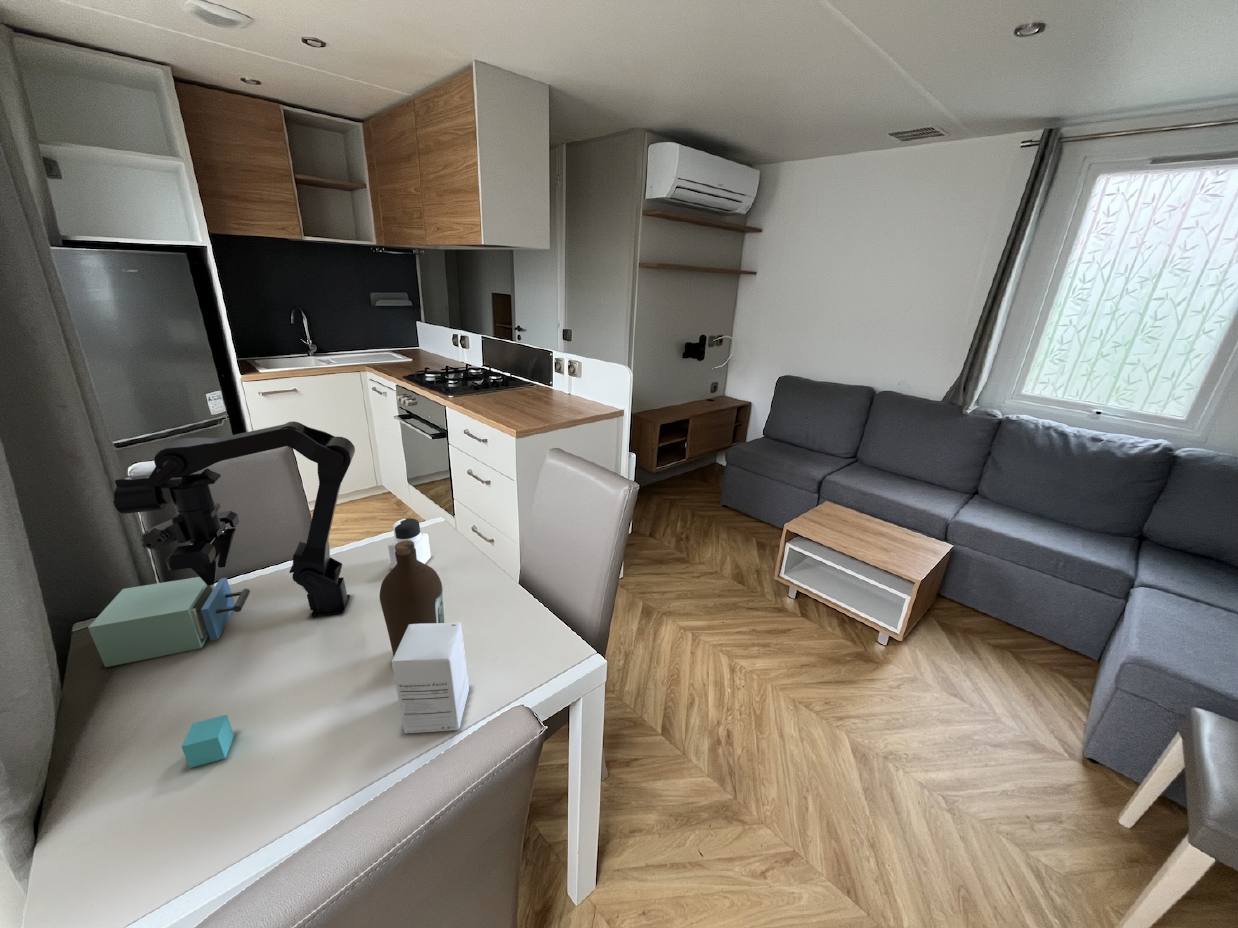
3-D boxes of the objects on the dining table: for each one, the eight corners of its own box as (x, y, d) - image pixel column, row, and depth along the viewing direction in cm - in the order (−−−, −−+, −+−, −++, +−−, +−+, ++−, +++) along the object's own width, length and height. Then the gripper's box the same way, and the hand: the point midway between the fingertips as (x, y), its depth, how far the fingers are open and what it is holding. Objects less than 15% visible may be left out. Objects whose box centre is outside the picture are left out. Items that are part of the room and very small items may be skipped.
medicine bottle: (431, 557, 130) (426, 516, 126) (418, 572, 123) (412, 529, 119) (405, 555, 130) (399, 514, 126) (391, 569, 124) (384, 527, 120)
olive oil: (389, 683, 89) (368, 564, 81) (393, 645, 99) (374, 534, 90) (451, 669, 93) (436, 554, 84) (449, 633, 102) (435, 526, 93)
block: (234, 735, 79) (227, 714, 77) (225, 758, 75) (217, 737, 73) (200, 743, 77) (192, 722, 76) (189, 768, 73) (181, 746, 72)
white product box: (418, 690, 88) (408, 622, 83) (470, 688, 89) (462, 620, 83) (402, 734, 79) (389, 661, 74) (459, 731, 80) (450, 658, 75)
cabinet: (222, 610, 108) (211, 574, 104) (201, 648, 97) (188, 609, 94) (137, 625, 102) (122, 588, 99) (105, 667, 92) (87, 627, 88)
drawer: (258, 601, 109) (250, 573, 107) (243, 634, 99) (234, 604, 97) (157, 619, 103) (146, 590, 100) (131, 656, 93) (118, 624, 91)
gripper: (163, 492, 99) (185, 559, 104) (115, 534, 83) (144, 611, 88) (230, 485, 103) (248, 550, 108) (197, 524, 87) (220, 598, 92)
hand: (216, 575), depth 99 cm, fingers open, 6 cm apart
